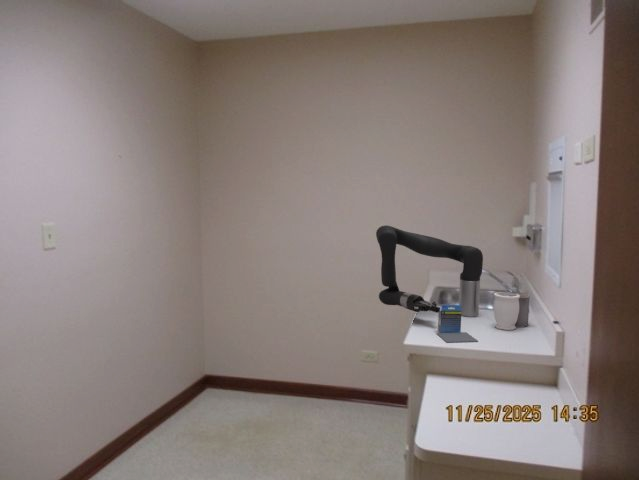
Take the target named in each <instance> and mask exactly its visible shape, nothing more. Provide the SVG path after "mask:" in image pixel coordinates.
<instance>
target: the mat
mask: <svg viewBox="0 0 639 480" xmlns="http://www.w3.org/2000/svg"><path fill="white" fill-rule="evenodd" d="M436 335H437V336H438V337H440V339H442V340H443V341H444V342H445V343H446V344H452V343H453V344H454V343H456V344H457V343H478V342H479V340H477V338H475V337H474V336H472V335H470V334H469V333H468V332H467V331H461V332H457V333H440V332H436Z"/></svg>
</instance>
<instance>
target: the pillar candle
mask: <svg viewBox="0 0 639 480" xmlns="http://www.w3.org/2000/svg"><path fill="white" fill-rule="evenodd" d="M510 293H515V294H518V295H520V298H519V299H518V300H519V314H518V319H517V322H516V324H515V327H516V328H524V327H528V326H529V316H530V315H529V314H530V313H529V312H530V295H529V294H528V293H524V292H519V291H517V292H510ZM509 297H513V296H509Z"/></svg>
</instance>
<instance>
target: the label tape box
mask: <svg viewBox="0 0 639 480" xmlns="http://www.w3.org/2000/svg"><path fill="white" fill-rule="evenodd" d="M440 306H441V307H440V312H438V313H437V314H438V315H437V317H438V319H437V320H438V321H437V331H438V333H457V332H462V331H461V329H462V315H461V314H462V311H461V308H462V305H459V304H441V305H440Z"/></svg>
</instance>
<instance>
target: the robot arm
mask: <svg viewBox="0 0 639 480" xmlns="http://www.w3.org/2000/svg"><path fill="white" fill-rule="evenodd" d="M375 232H376V233H375V236H376V240H377V244H378V245H379V250H380V253H381V268H380V271H381V272H380V275H381V276H380V278H381V285H382V286H384V287H387V288H385V289H382V290H381V291H380V292H379V293H378V299H379V301H380V302H381V303H382V304H384V305H387V306H399V307H402V308H405V309H406V310H409V311H413V312H416V313H420V312H433V313H436V314H439V312H440V311H441V307H439V306H437V305H438V304H437V302H436V301H434V300H433V301H432V302H430V301H427V300H425V299H424V297H422V296H421V295H418V294H415V293H410V292H406V291H401V290H400V289H399V286H398V282H397V272H396V269H397V268H396V249H397V245H398V246H402V247H405V248H406V249H408V250H411V251H413V252H415V253H417V254H420V255H422V256H427V257H431V258H438V259H439V258H442V259H443V258H446V259H449V260H450V259H451V260H454V261H456V262H459V263H462V264H463V266H462V271H461V272H460V274H459V291H458V292H459V293H458V294H459V298H458V305H462V308H461V311H462V314H461V317H462V316H463V317H469V318H471V317H472V318H473V317H478V316H479V311H480V291H481V289H480V288H481V276H482V273H483V265H484V255H483V252H482V251H481V249H479V248H478V247H475V246H472V245H463V244H456V243H451V242H448V241H446V240H443V239H440V238H438V237H432V236H429V235H424V234H419V233H415V232H409V231H405V230H403V229H400V228H397V227H395V226H391V225H381V226H379V227H378V228H377V230H376V231H375Z"/></svg>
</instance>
